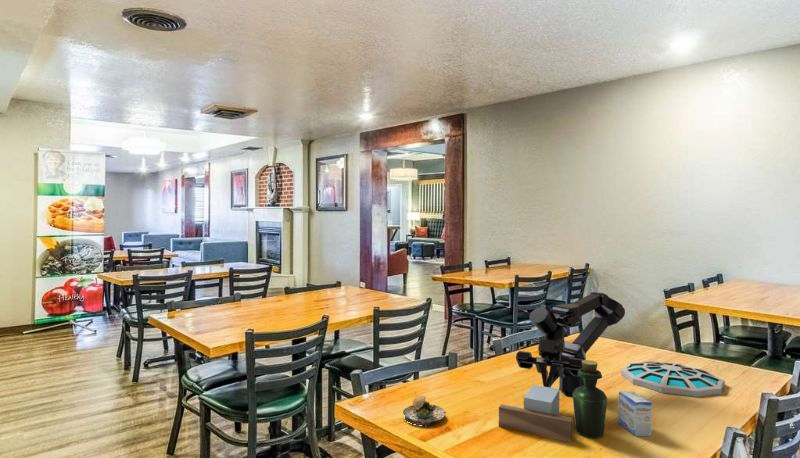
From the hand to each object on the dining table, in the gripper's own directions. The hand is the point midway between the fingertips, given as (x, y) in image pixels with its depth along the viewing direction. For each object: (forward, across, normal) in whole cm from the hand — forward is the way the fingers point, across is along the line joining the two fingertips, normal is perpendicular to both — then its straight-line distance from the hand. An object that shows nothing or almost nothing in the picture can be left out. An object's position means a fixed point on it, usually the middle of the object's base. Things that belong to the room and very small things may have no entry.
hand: (545, 390), depth 128 cm
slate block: (+9, 0, 0) cm, 9 cm away
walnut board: (+14, 0, -4) cm, 14 cm away
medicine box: (+4, +22, +6) cm, 23 cm away
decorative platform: (-30, +32, +40) cm, 59 cm away
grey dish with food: (+18, -29, -8) cm, 35 cm away
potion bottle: (+9, +12, 0) cm, 15 cm away
